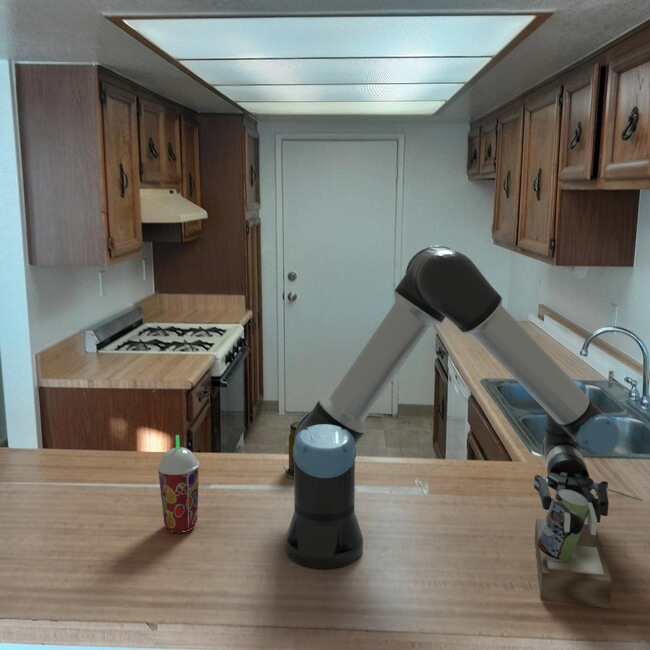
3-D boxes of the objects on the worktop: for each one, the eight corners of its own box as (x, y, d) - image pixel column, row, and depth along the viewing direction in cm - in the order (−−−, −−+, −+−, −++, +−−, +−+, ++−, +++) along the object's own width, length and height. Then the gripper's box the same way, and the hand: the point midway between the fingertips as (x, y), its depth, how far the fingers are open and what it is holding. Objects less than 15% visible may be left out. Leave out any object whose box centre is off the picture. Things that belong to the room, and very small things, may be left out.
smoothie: (209, 526, 140) (206, 435, 136) (176, 541, 134) (171, 446, 130) (185, 513, 145) (182, 425, 142) (152, 527, 139) (148, 435, 136)
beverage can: (537, 543, 122) (546, 481, 120) (580, 552, 120) (589, 490, 117) (535, 560, 116) (545, 496, 114) (580, 570, 114) (591, 505, 112)
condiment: (311, 463, 173) (311, 419, 171) (318, 476, 165) (318, 430, 162) (283, 466, 171) (283, 421, 169) (289, 479, 163) (288, 432, 161)
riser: (540, 599, 115) (542, 570, 114) (534, 541, 134) (536, 517, 133) (609, 608, 112) (612, 579, 111) (593, 548, 131) (595, 523, 130)
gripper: (609, 492, 132) (632, 552, 110) (522, 484, 136) (527, 540, 114) (612, 456, 131) (636, 510, 109) (524, 449, 135) (529, 499, 113)
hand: (580, 525), depth 111 cm, fingers closed on beverage can, 3 cm apart
